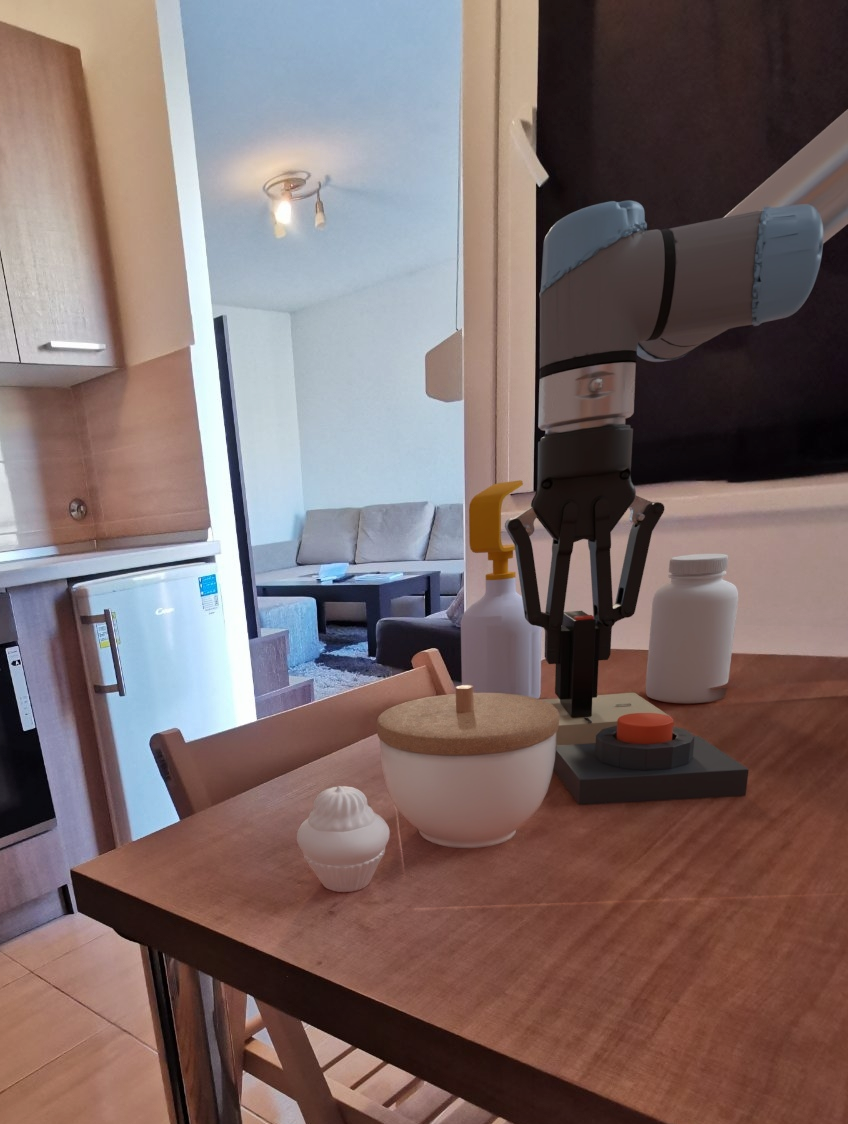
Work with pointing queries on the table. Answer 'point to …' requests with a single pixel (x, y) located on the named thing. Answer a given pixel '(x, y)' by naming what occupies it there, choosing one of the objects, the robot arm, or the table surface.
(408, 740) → the lidded bowl
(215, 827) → the table surface
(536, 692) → the soap bottle
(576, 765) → the switch block
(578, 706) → the black rectangular block
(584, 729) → the plate
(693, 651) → the pill bottle
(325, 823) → the muffin
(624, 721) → the button
